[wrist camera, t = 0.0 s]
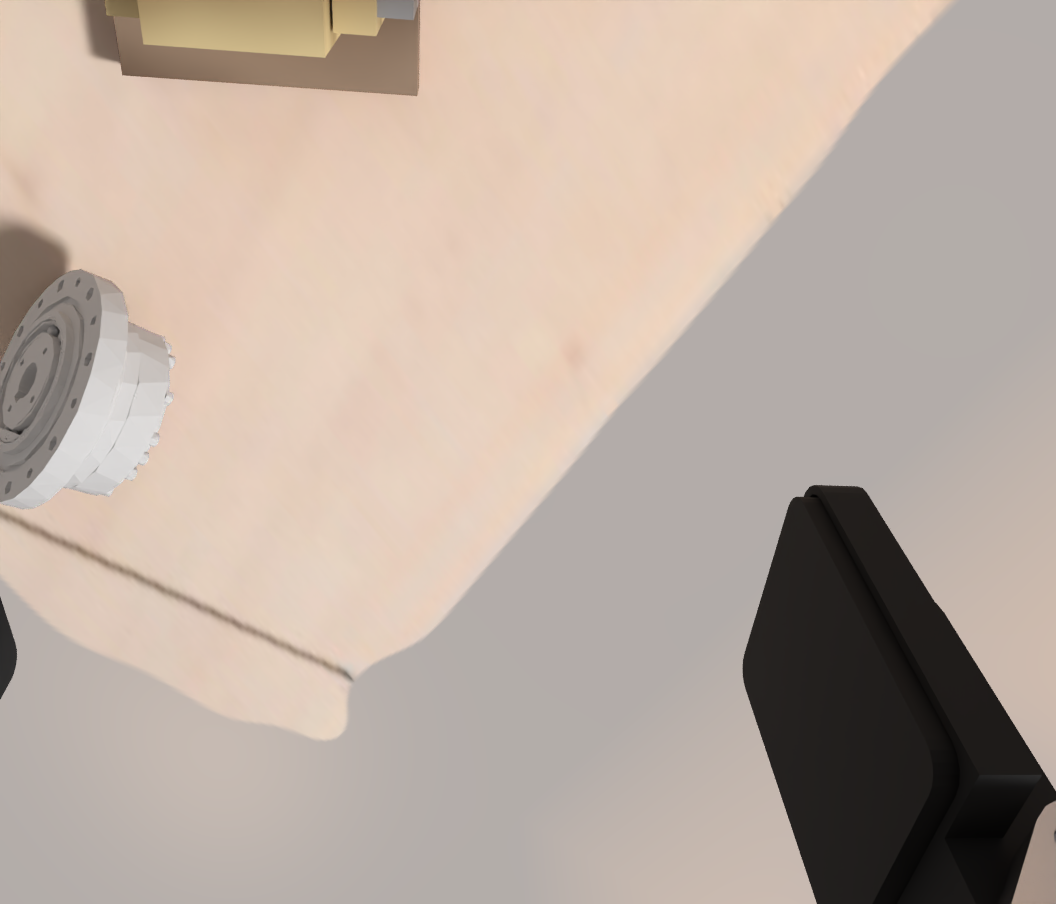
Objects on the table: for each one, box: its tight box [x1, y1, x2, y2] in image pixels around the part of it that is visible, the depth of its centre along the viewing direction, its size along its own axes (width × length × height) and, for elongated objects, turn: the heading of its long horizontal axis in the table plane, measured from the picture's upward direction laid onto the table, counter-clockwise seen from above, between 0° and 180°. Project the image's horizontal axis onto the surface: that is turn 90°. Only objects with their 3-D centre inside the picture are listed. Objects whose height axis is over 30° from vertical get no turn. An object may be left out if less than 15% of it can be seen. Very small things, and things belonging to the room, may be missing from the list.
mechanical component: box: [0, 269, 175, 509], centre depth 38 cm, size 10×4×10 cm, turn 141°
